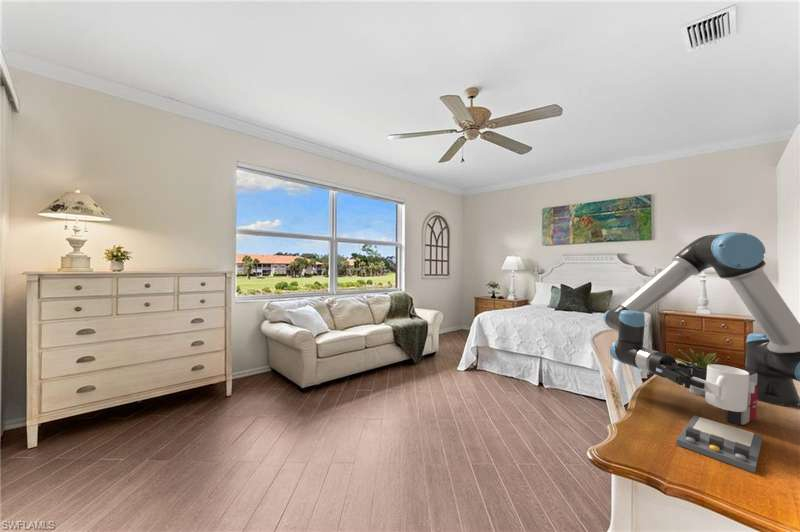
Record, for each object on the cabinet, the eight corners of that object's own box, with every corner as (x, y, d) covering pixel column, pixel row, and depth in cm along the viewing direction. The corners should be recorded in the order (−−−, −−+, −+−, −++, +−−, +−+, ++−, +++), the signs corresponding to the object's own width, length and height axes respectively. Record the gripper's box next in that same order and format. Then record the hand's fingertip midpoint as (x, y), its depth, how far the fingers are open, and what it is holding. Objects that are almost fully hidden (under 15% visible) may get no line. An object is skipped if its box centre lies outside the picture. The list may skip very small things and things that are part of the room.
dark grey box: (743, 427, 95) (746, 377, 95) (723, 420, 99) (726, 372, 99) (757, 419, 100) (760, 372, 100) (738, 413, 104) (740, 367, 104)
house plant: (690, 383, 130) (692, 342, 130) (734, 397, 117) (737, 352, 116) (665, 386, 125) (667, 344, 125) (709, 402, 112) (711, 355, 112)
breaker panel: (693, 420, 99) (694, 408, 99) (761, 441, 88) (762, 428, 88) (676, 444, 85) (677, 431, 85) (755, 473, 74) (755, 458, 74)
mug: (737, 418, 83) (740, 379, 83) (695, 405, 90) (697, 368, 90) (750, 408, 89) (753, 371, 89) (710, 396, 96) (712, 362, 96)
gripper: (683, 372, 111) (768, 400, 90) (626, 375, 105) (702, 406, 84) (684, 350, 111) (769, 373, 89) (627, 353, 105) (704, 378, 84)
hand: (737, 389), depth 87 cm, fingers closed on mug, 11 cm apart
